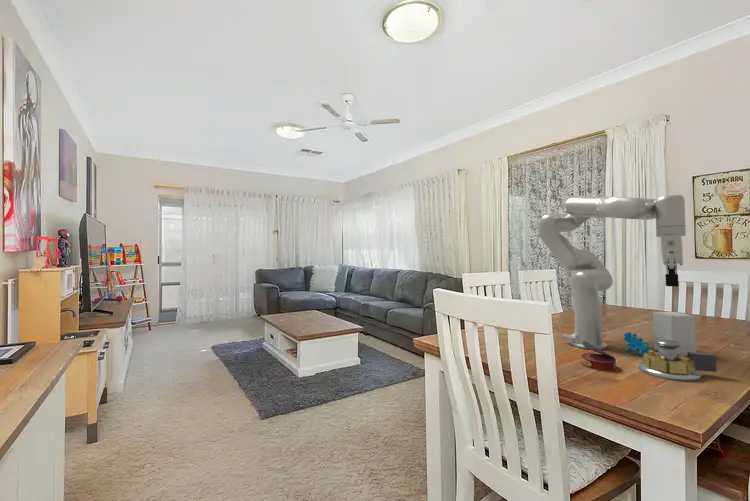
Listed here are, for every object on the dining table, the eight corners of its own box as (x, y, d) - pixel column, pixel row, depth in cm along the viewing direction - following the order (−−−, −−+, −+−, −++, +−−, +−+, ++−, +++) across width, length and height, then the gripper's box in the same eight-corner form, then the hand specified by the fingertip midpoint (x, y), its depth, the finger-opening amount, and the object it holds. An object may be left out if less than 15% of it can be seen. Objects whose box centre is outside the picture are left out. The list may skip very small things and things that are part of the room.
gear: (638, 354, 122) (620, 330, 130) (625, 362, 126) (609, 338, 133) (660, 355, 125) (642, 332, 132) (648, 363, 129) (631, 340, 136)
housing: (647, 377, 104) (646, 345, 104) (633, 362, 118) (632, 334, 118) (711, 384, 98) (710, 350, 98) (688, 367, 112) (687, 338, 112)
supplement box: (697, 356, 124) (696, 315, 124) (672, 356, 124) (671, 315, 124) (675, 349, 133) (674, 311, 133) (652, 349, 133) (651, 311, 133)
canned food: (583, 374, 120) (579, 346, 125) (618, 376, 115) (612, 347, 120) (581, 368, 112) (577, 338, 117) (618, 369, 107) (612, 338, 111)
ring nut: (654, 371, 104) (654, 355, 104) (638, 360, 115) (638, 345, 115) (726, 377, 99) (726, 360, 99) (702, 364, 110) (702, 349, 110)
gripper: (686, 230, 106) (688, 288, 106) (684, 232, 117) (686, 284, 117) (655, 231, 111) (657, 287, 111) (656, 233, 122) (658, 283, 122)
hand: (672, 286), depth 114 cm, fingers closed
